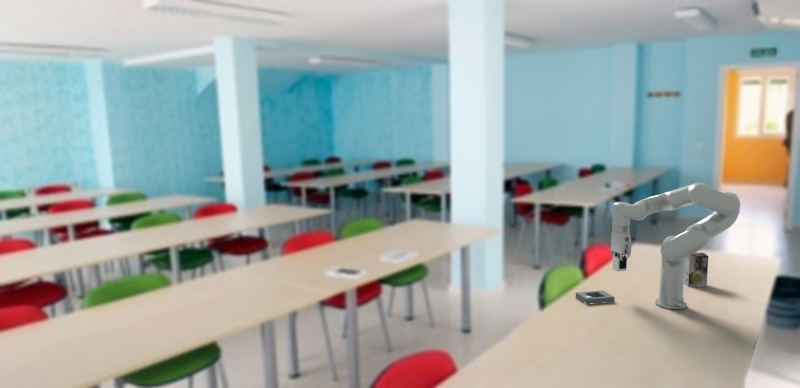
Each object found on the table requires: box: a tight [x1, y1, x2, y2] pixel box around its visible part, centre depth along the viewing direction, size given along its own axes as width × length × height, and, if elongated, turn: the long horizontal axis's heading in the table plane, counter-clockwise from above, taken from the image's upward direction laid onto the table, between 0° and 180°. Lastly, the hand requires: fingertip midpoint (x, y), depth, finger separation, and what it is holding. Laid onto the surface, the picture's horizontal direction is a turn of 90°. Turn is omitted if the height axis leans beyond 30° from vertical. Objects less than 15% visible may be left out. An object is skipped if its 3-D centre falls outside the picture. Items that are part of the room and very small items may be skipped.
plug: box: [612, 253, 628, 272], centre depth 265 cm, size 4×4×8 cm
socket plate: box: [575, 289, 616, 305], centre depth 265 cm, size 10×14×3 cm
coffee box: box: [684, 252, 709, 288], centre depth 284 cm, size 9×6×16 cm
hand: (619, 266), depth 265 cm, fingers closed on plug, 4 cm apart
